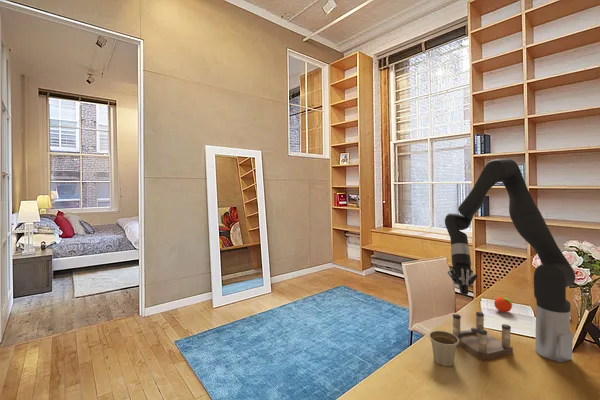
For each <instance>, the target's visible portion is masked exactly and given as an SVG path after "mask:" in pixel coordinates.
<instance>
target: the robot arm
mask: <svg viewBox="0 0 600 400" xmlns="http://www.w3.org/2000/svg"><path fill="white" fill-rule="evenodd" d="M497 183H502V184H503V186H504V188H505V189H506V191H507V194H508V197H509V200H508V201H509V204H508V211H509V212H508V213H509V217H510V219H511V221H512V223H513V226H514V227H515V229H516V231H517V232H518V234H519V235H520V236H521V237H522V239H523V240H525V242H526V243H527V244H529V245H530V246H531V247H532V249H533V250H534V251H535V252H536V255H537V257H538V258H539V261H540V263H541V264H539V265H538V266H537V267H536V268H535V270H534V273H533V295H534V298H535V300H536V301H535V302H536V304H535V305H536V306H535V307H536V309H535V313H536V314H535V338H534V339H535V342H534V345H535V346H534V351H535V352H536V354H538V355H539V356H541V357H543V358H546V359H548V360H551V361H554V362H558V363H564V362H568V361H572V360H573V346H574V344H573V342H574V341H573V340H574V334H573V332H572V331H571V308H572V307H571V306H572V305H571V302H570V301H569V300H567V298H566V297H567V296H566V295H567V294H566V291H567V289H566V288H568V287H570V286H572V285H573V284H574V283H575V280H576V272H575V270H574V269H573V266H572V265H571V264H570V263H569V261H568V260H567V258H566V257H565V255H564V254H563V252H562V251H561V249H560V248H559V246H558V244H557V242H556V241H555V239H554V236H553V235H552V232H551V230H550V229H549V227H548V225H547V223H546V221H545V218H544V217H543V215H542V213H541V211H540V209H539V208H538V206H537V205H536V203H535V201H534V198H533V197H532V195H531V193H530V191H529V189H528V187H527V186H528V185H527V184H526V182H525V179H524V176H523V174H522V171H521V169H520V166H519V164H517V162H516V161H515V160H513V159H511V158H498V159H492V160H490V161H488V162H486V164H485V165H484V167H483V168H482V171H481V172H480V175H479V176H478V179H477V180H476V182H475V183H474V185H473V187H472V189H471V190H470V192H469V194H467V196H466V197H465V198H464V200H463V201H462V202H461V204H460V205H459V207H458V209H457V211H458V213H452V212H449V213H448V214H447V215H446V216H445V218H444V225H445V228H446V230H447V233H448V235H449V238H450V257H451V266H452V268H451V269H450V270H448V271H447V274H448V275H449V277H450V278H451V280H452V281H453V282H454V283H455V285H458V286H459V293H460V294H461V295H462V296H468V294H469V286H472V285H473V284H474V282H475V281H476V279H477V278H478V274H475V273H473V270H472V268H471V267H472V258H471V252H470V247H469V239H468V235H467V233H465V232H463V231H465V230H467V229H468V228H469V227H470V225H471V223H472V221H473V218H474V216H475V214H476V213H477V212H478V211H479V210H480V209H481V208H482V206H483V204H484V203H485V200H486V196H487V193H488V192H489V190H490V189H492V188H493V187H494V186H495V185H497Z"/></svg>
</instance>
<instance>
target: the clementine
mask: <svg viewBox="0 0 600 400" xmlns="http://www.w3.org/2000/svg"><path fill="white" fill-rule="evenodd" d="M493 302H494V307H495V308H496V310H498V312H501V313H508V312H510V311H511V310H512V309H513V303H512V301H510V299H509V298H507V297H505V296H498V297H497V298H495V300H494V301H493Z"/></svg>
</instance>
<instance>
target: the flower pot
mask: <svg viewBox="0 0 600 400" xmlns="http://www.w3.org/2000/svg"><path fill="white" fill-rule="evenodd" d="M428 338H429V339H430V342H431V347H432V355H433V359H434V362H435V363H436V364H438V365H442V366H444V367H451V366H453V365H454V363H455V357H456V352H457V351H456V349H457V346H458V343H459V339H458V337H457V336H455V335H454V334H453V332H452V333H451V332H449V331H446V330H445V331H444V330H434V331H433V330H432V331H430V332H429V334H428Z"/></svg>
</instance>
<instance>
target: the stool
mask: <svg viewBox="0 0 600 400" xmlns="http://www.w3.org/2000/svg"><path fill="white" fill-rule="evenodd" d="M475 320H476V321H475V328H476V329H477V333H471V334H464V335H460V336H457V337H458V339H459V343H458V344H457V346H460V347H461V348H463V349H464V350H466V351H468V352H469V353H470V354H472V355H474V356H475V357H477V358H478V359H480V360H481V361H486V360H491V359H494V358H498V357H502V356H507V355H510V354H513V352H514V347H512V346H511V325H510V324H506V323H505V324H504V323H503V324H501V340H500V339H498V338H496V337H494V336H493V335H490V334H488V331H487V330H486V329H484V327H485V324H484V323H485V322H484V321H485V313H484V312H481V311H476V313H475Z"/></svg>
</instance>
